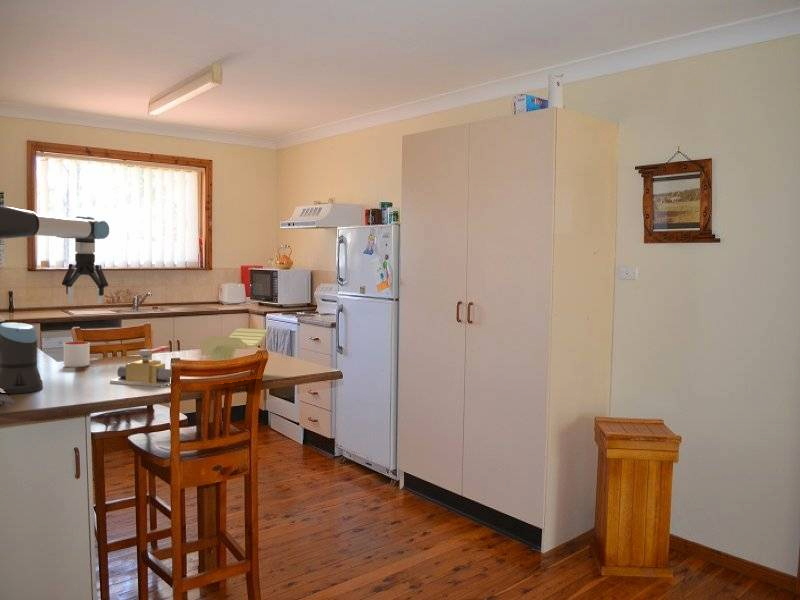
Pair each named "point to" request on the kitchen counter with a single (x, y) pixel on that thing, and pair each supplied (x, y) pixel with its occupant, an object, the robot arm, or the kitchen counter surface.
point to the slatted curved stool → (232, 343)
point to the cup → (76, 354)
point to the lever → (153, 350)
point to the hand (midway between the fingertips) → (84, 302)
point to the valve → (143, 373)
